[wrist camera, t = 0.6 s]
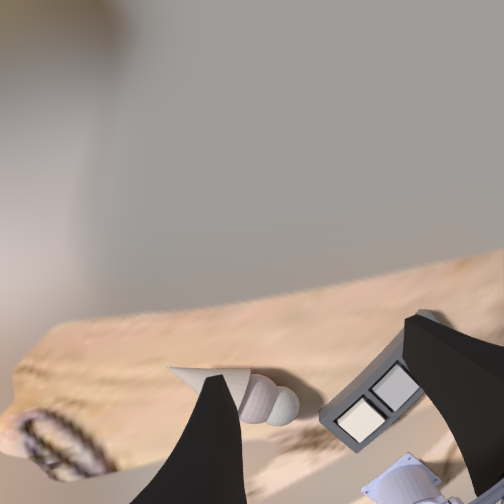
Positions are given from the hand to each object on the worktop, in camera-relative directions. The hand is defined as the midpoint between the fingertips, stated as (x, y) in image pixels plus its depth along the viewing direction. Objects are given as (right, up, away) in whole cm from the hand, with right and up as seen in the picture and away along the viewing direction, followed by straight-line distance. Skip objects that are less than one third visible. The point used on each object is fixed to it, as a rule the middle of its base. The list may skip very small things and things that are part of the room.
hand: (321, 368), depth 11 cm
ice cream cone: (-4, -11, +23) cm, 26 cm away
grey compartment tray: (+13, -10, +20) cm, 26 cm away
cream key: (+9, -13, +17) cm, 24 cm away
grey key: (+13, -10, +17) cm, 23 cm away
